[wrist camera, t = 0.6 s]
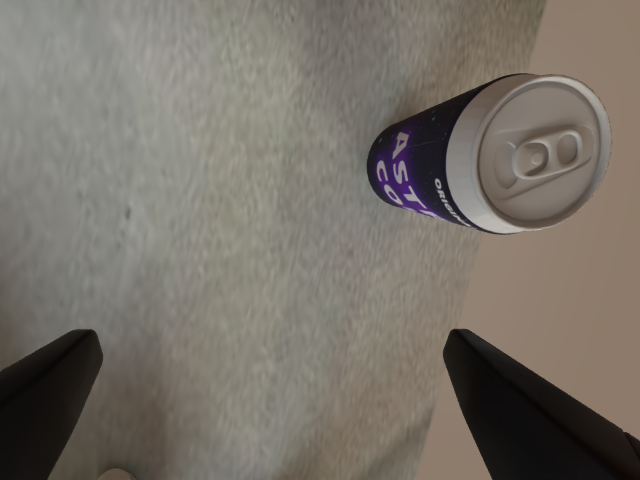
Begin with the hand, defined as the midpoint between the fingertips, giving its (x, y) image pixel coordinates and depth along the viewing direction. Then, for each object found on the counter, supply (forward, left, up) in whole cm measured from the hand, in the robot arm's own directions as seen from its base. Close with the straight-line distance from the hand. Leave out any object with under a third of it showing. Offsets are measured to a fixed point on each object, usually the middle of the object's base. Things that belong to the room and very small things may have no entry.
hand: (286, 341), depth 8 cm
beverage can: (+4, -9, -14) cm, 17 cm away
